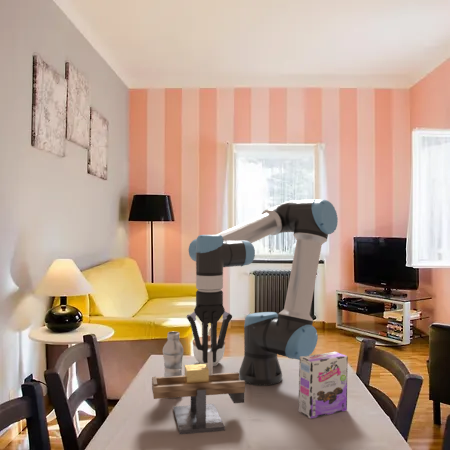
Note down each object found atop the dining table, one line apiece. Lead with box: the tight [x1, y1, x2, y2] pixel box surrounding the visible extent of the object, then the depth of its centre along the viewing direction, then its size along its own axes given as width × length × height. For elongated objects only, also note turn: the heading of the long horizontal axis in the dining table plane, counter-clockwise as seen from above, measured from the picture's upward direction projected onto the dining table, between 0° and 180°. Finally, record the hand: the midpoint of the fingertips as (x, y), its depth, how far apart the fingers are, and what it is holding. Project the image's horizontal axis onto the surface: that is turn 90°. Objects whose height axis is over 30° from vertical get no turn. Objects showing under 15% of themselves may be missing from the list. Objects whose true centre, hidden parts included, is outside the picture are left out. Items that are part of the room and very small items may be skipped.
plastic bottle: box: [162, 331, 184, 377], centre depth 150 cm, size 6×7×20 cm
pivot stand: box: [172, 388, 226, 435], centre depth 133 cm, size 12×16×10 cm
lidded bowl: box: [192, 334, 226, 367], centre depth 184 cm, size 13×13×11 cm
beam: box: [151, 371, 246, 404], centre depth 133 cm, size 25×9×7 cm, turn 102°
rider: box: [184, 363, 209, 384], centre depth 133 cm, size 6×5×5 cm
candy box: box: [298, 351, 349, 420], centre depth 140 cm, size 14×6×16 cm, turn 117°
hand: (209, 373), depth 133 cm, fingers closed
